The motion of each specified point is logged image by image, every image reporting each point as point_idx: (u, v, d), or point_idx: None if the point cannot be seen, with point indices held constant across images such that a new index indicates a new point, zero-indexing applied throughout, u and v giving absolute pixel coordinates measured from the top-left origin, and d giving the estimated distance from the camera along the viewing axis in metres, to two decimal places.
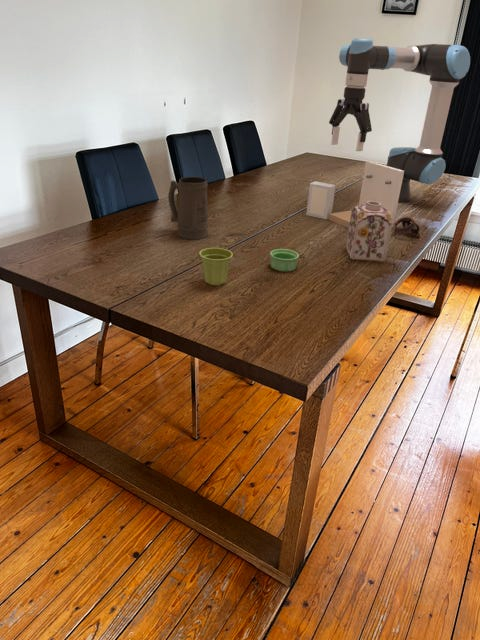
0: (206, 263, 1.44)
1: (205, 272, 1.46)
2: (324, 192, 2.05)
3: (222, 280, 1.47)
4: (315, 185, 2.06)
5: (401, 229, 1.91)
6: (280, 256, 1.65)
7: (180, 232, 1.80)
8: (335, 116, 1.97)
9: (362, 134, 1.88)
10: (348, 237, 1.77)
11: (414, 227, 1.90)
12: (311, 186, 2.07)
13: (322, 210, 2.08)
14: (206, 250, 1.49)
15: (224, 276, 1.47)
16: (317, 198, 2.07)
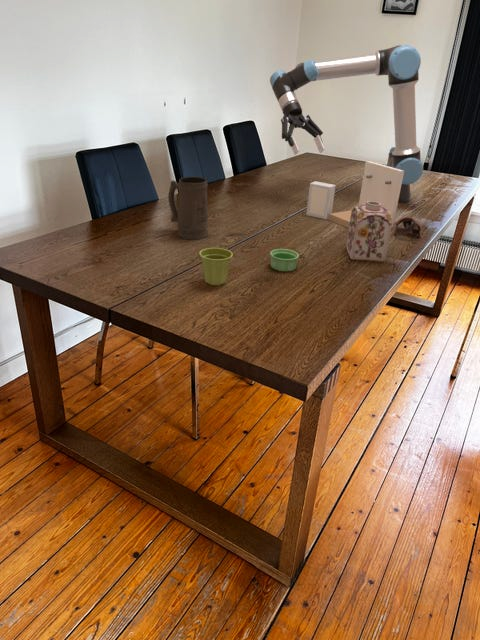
0: (206, 263, 1.44)
1: (205, 272, 1.46)
2: (324, 192, 2.05)
3: (222, 280, 1.47)
4: (315, 185, 2.06)
5: (402, 229, 1.91)
6: (280, 256, 1.65)
7: (180, 232, 1.80)
8: None
9: None
10: (348, 237, 1.77)
11: (415, 227, 1.90)
12: (311, 186, 2.07)
13: (322, 210, 2.08)
14: (206, 250, 1.49)
15: (224, 276, 1.47)
16: (317, 198, 2.07)
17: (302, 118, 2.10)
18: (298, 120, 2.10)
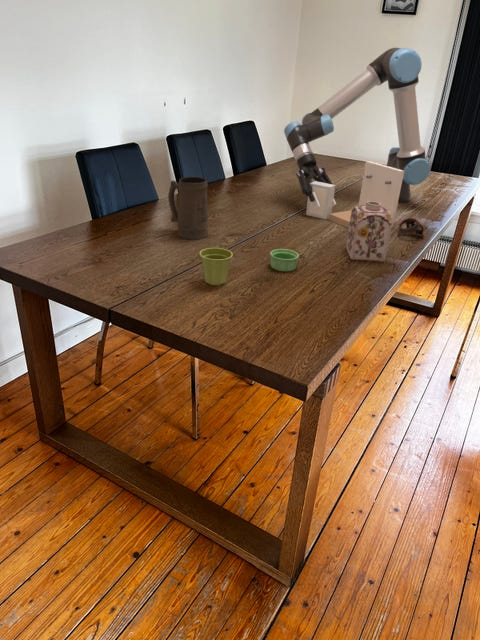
0: (206, 263, 1.44)
1: (205, 272, 1.46)
2: (324, 192, 2.05)
3: (222, 280, 1.47)
4: (315, 185, 2.06)
5: (405, 230, 1.90)
6: (280, 256, 1.65)
7: (180, 232, 1.80)
8: None
9: None
10: (348, 237, 1.77)
11: (418, 228, 1.90)
12: None
13: (321, 210, 2.08)
14: (206, 250, 1.49)
15: (224, 276, 1.47)
16: (317, 198, 2.07)
17: (316, 170, 2.10)
18: (312, 171, 2.10)
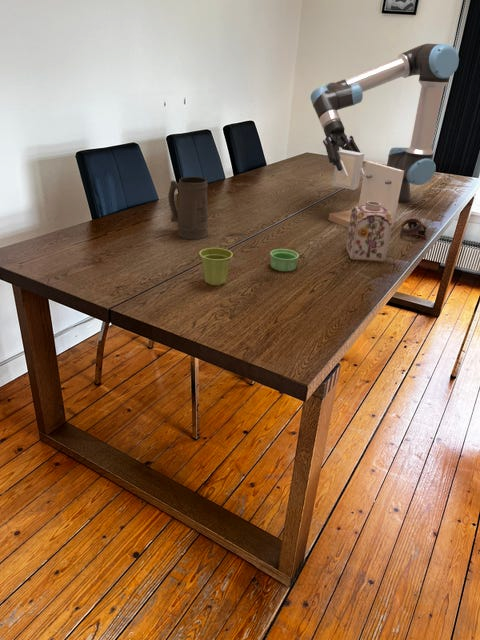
0: (206, 263, 1.44)
1: (205, 272, 1.46)
2: (352, 161, 1.94)
3: (222, 280, 1.47)
4: (342, 153, 1.95)
5: (408, 230, 1.90)
6: (280, 256, 1.65)
7: (180, 232, 1.80)
8: None
9: None
10: (348, 237, 1.77)
11: (421, 228, 1.89)
12: None
13: (349, 180, 1.97)
14: (206, 250, 1.49)
15: (224, 276, 1.47)
16: None
17: (344, 137, 1.99)
18: (340, 139, 1.99)
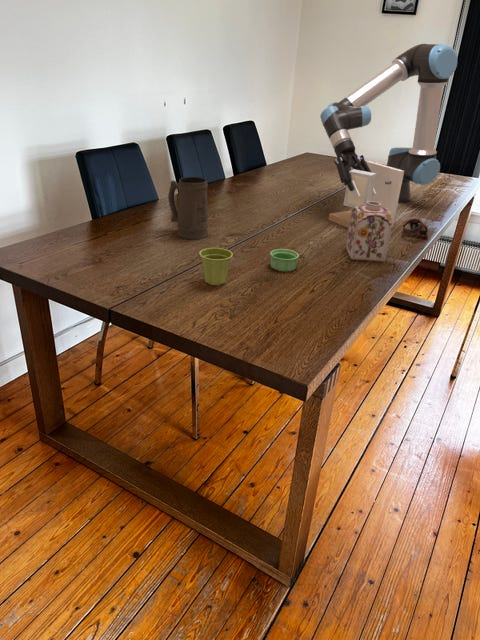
0: (206, 263, 1.44)
1: (205, 272, 1.46)
2: (364, 181, 1.92)
3: (222, 280, 1.47)
4: (354, 173, 1.93)
5: (410, 231, 1.90)
6: (280, 256, 1.65)
7: (180, 232, 1.80)
8: None
9: None
10: (348, 237, 1.77)
11: (423, 228, 1.89)
12: None
13: (361, 200, 1.95)
14: (206, 250, 1.49)
15: (224, 276, 1.47)
16: None
17: (355, 157, 1.97)
18: (351, 159, 1.97)
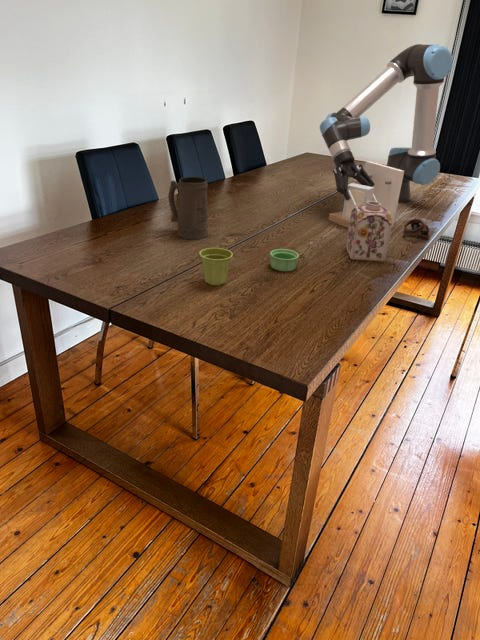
0: (206, 263, 1.44)
1: (205, 272, 1.46)
2: (362, 195, 1.94)
3: (222, 280, 1.47)
4: (352, 187, 1.96)
5: (411, 231, 1.89)
6: (280, 256, 1.65)
7: (180, 232, 1.80)
8: None
9: None
10: (348, 237, 1.77)
11: (424, 229, 1.89)
12: (348, 188, 1.97)
13: None
14: (206, 250, 1.49)
15: (224, 276, 1.47)
16: None
17: (354, 167, 1.99)
18: (350, 170, 1.99)
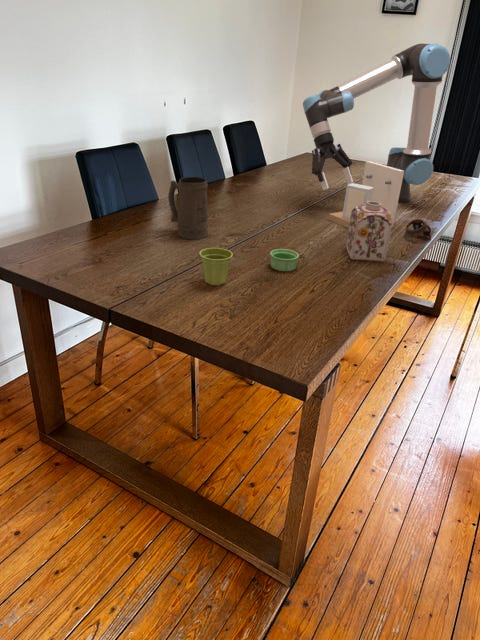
0: (206, 263, 1.44)
1: (205, 272, 1.46)
2: (362, 195, 1.94)
3: (222, 280, 1.47)
4: (352, 187, 1.96)
5: (413, 231, 1.89)
6: (280, 256, 1.65)
7: (180, 232, 1.80)
8: None
9: None
10: (348, 237, 1.77)
11: (426, 229, 1.89)
12: (348, 188, 1.97)
13: None
14: (206, 250, 1.49)
15: (224, 276, 1.47)
16: (354, 201, 1.97)
17: (333, 149, 2.07)
18: (329, 151, 2.07)
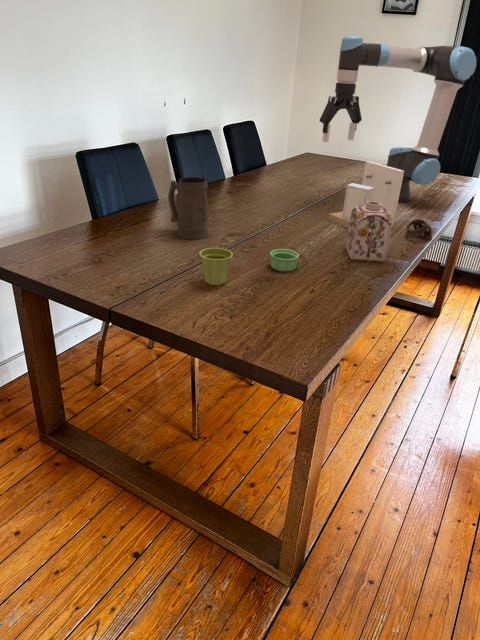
0: (206, 263, 1.44)
1: (205, 272, 1.46)
2: (362, 195, 1.94)
3: (222, 280, 1.47)
4: (352, 187, 1.96)
5: (414, 231, 1.89)
6: (280, 256, 1.65)
7: (180, 232, 1.80)
8: (355, 113, 2.05)
9: None
10: (348, 237, 1.77)
11: (427, 229, 1.89)
12: (348, 188, 1.97)
13: None
14: (206, 250, 1.49)
15: (224, 276, 1.47)
16: (354, 201, 1.97)
17: (350, 102, 1.98)
18: (345, 103, 1.98)
